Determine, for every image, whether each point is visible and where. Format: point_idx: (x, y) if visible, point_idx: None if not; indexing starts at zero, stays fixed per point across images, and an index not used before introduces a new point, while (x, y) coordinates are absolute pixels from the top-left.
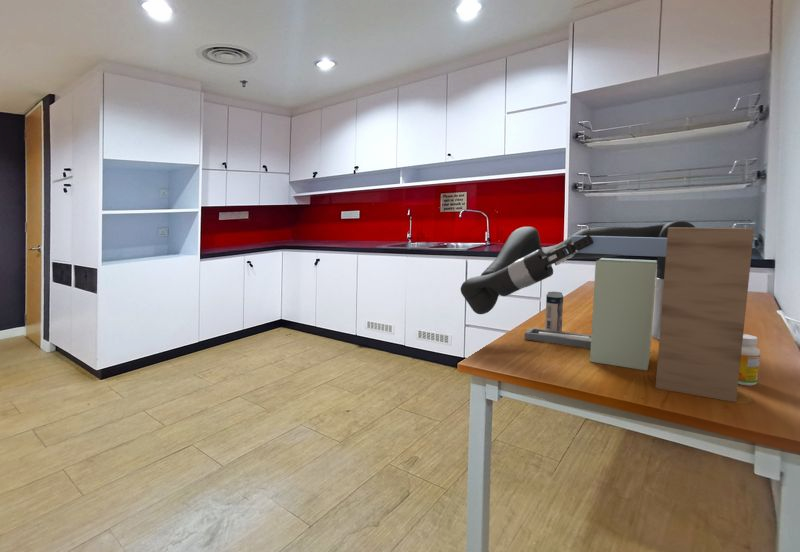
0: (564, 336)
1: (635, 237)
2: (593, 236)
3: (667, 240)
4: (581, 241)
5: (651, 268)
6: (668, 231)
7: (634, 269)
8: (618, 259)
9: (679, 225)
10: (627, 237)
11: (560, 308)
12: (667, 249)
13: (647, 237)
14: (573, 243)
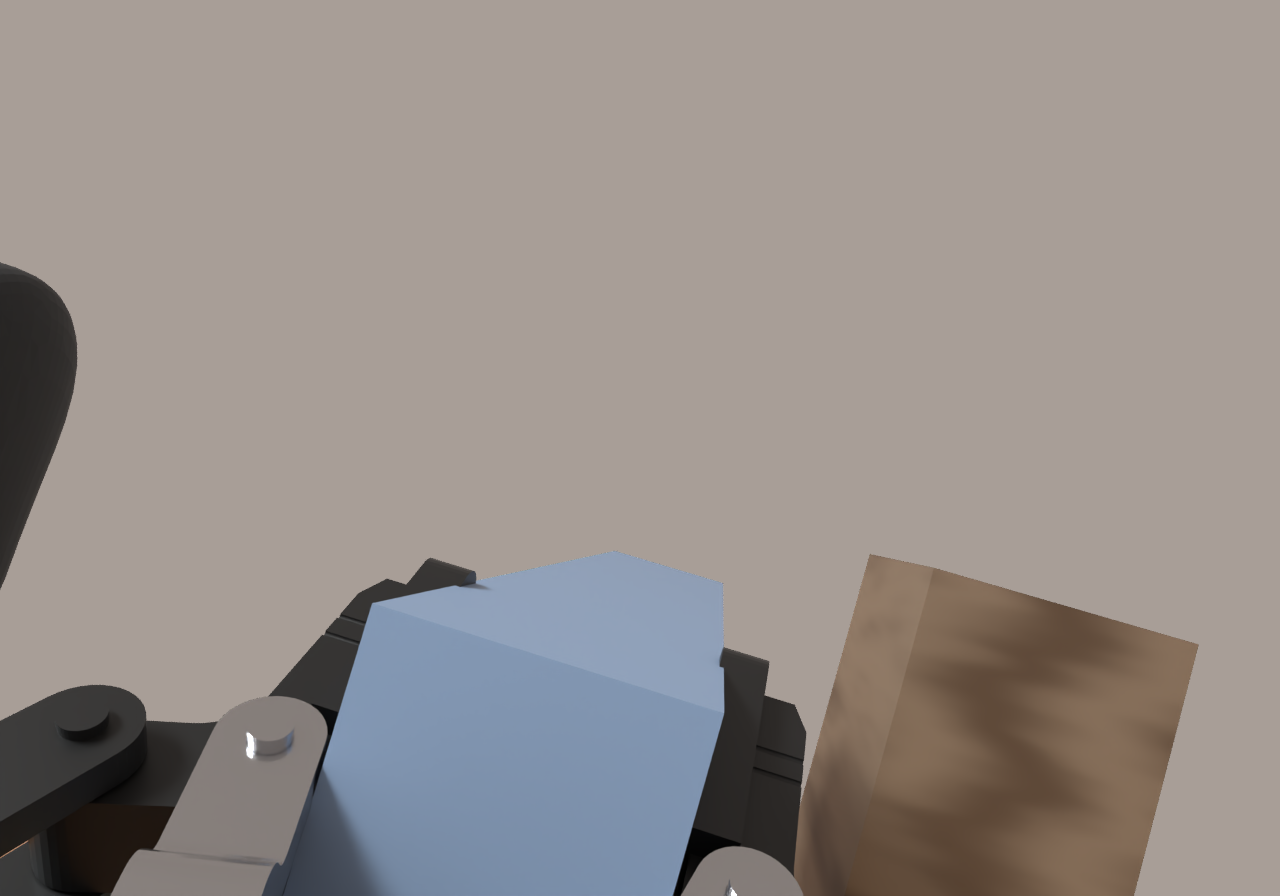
0: None
1: (674, 592)
2: (678, 640)
3: (1178, 721)
4: (799, 798)
5: None
6: (1190, 665)
7: None
8: None
9: (38, 308)
10: (720, 612)
11: None
12: (1160, 776)
13: (611, 566)
14: (780, 887)
